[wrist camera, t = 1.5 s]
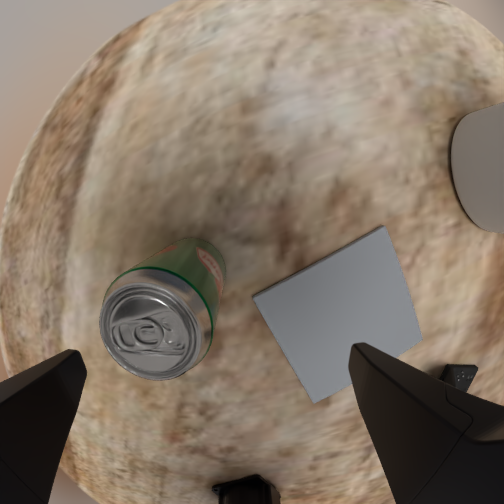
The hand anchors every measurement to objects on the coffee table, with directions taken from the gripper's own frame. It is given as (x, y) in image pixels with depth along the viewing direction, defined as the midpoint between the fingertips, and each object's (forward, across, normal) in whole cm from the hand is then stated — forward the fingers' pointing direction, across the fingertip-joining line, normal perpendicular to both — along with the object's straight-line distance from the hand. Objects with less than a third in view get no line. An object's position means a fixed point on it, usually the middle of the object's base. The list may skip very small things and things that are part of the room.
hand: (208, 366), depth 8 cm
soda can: (+14, +3, +2) cm, 15 cm away
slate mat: (+14, -10, +7) cm, 18 cm away
